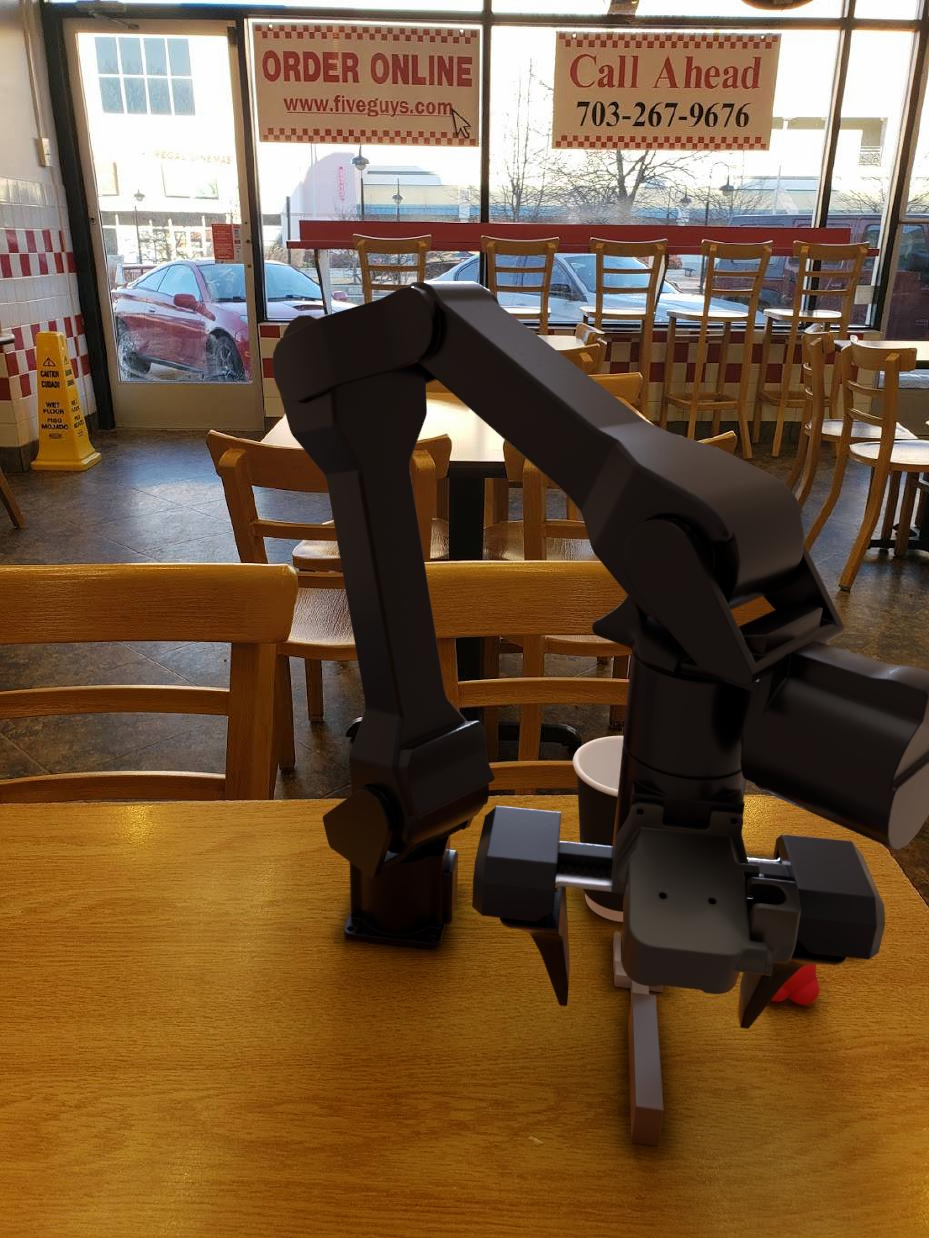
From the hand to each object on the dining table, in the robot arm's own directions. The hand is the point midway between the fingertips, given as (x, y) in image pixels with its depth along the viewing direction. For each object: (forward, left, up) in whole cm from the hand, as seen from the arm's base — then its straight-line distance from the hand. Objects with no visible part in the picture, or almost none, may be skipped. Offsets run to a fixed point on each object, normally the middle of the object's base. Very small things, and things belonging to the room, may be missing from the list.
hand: (652, 1011), depth 49 cm
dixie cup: (-1, +17, -6) cm, 18 cm away
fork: (0, +4, -6) cm, 7 cm away
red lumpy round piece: (+9, +9, -6) cm, 14 cm away
